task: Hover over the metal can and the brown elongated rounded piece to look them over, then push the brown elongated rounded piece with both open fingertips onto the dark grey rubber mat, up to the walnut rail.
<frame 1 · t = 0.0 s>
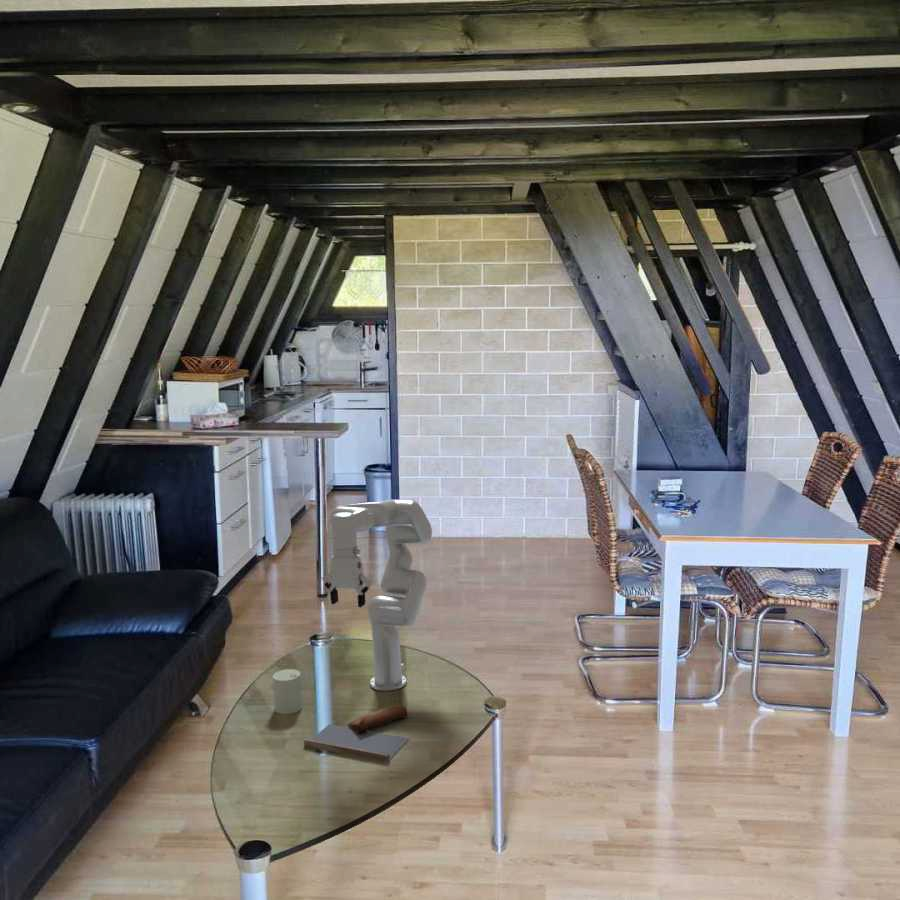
hand: (348, 604, 261), 37 cm above the table, tool pointing down, fingers open, 9 cm apart
walnut rail: (346, 753, 242), on the table
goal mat: (358, 741, 248), on the table
brown elongated rounded piece: (377, 723, 260), on the table, touching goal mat
can: (288, 708, 273), on the table
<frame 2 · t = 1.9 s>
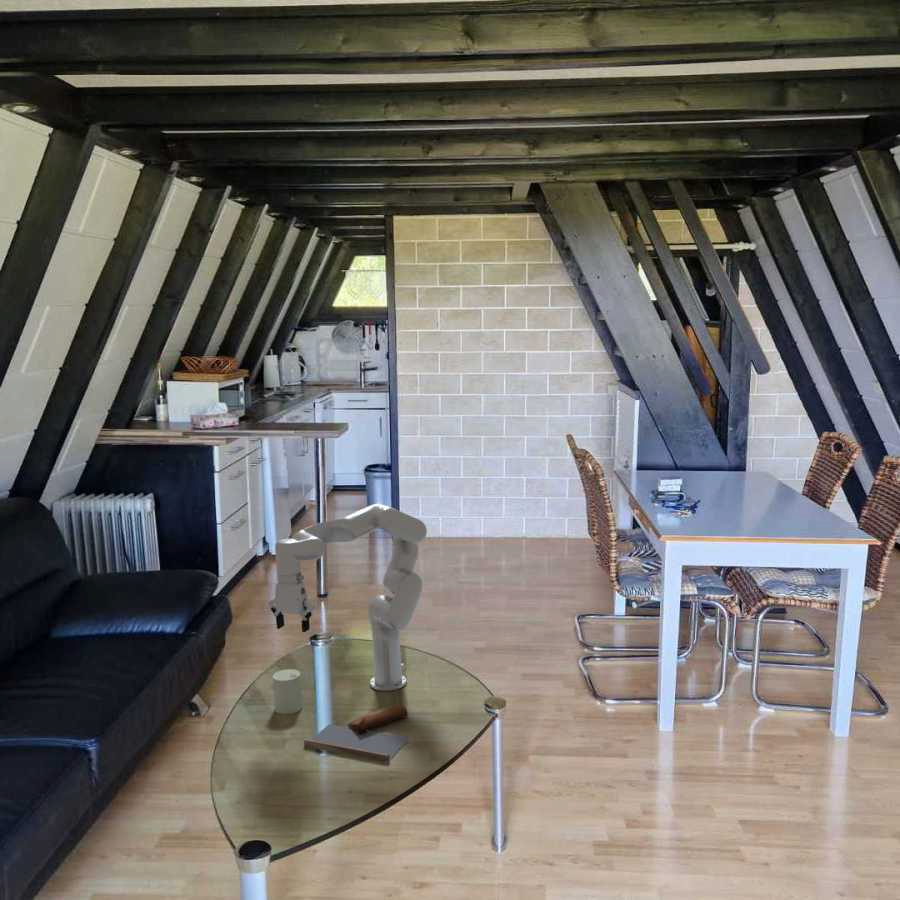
hand: (293, 629, 265), 28 cm above the table, tool pointing down, fingers open, 9 cm apart
nothing on the table moved.
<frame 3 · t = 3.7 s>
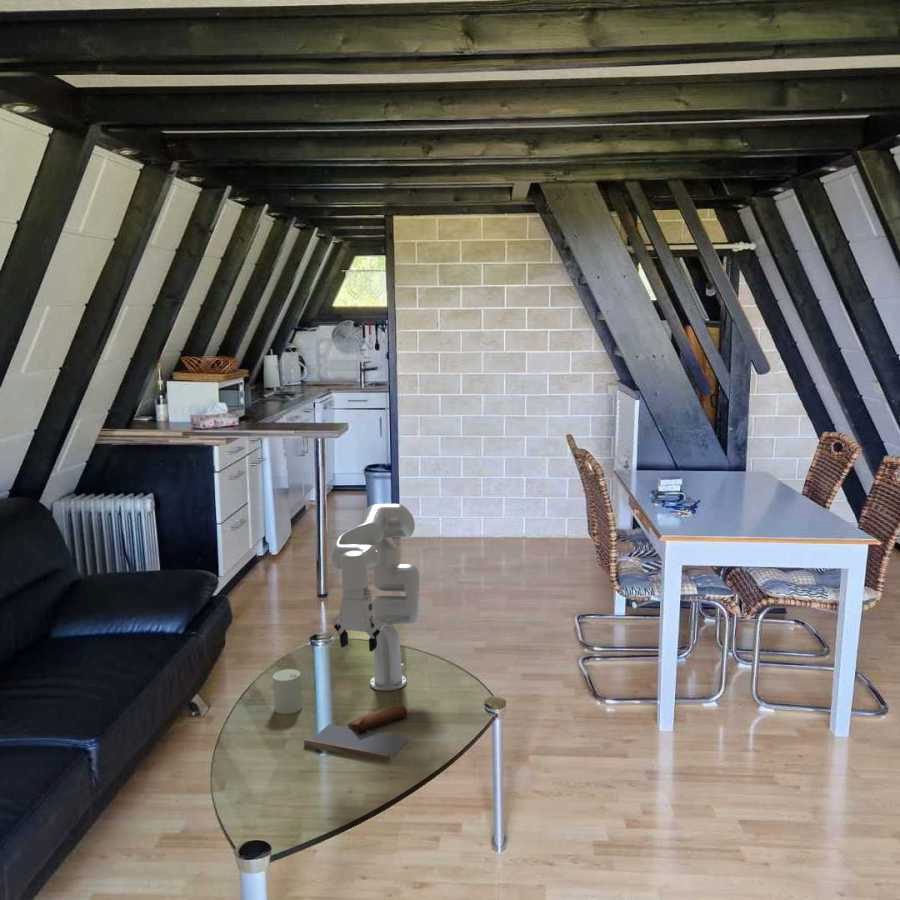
hand: (358, 647, 247), 28 cm above the table, tool pointing down, fingers open, 9 cm apart
nothing on the table moved.
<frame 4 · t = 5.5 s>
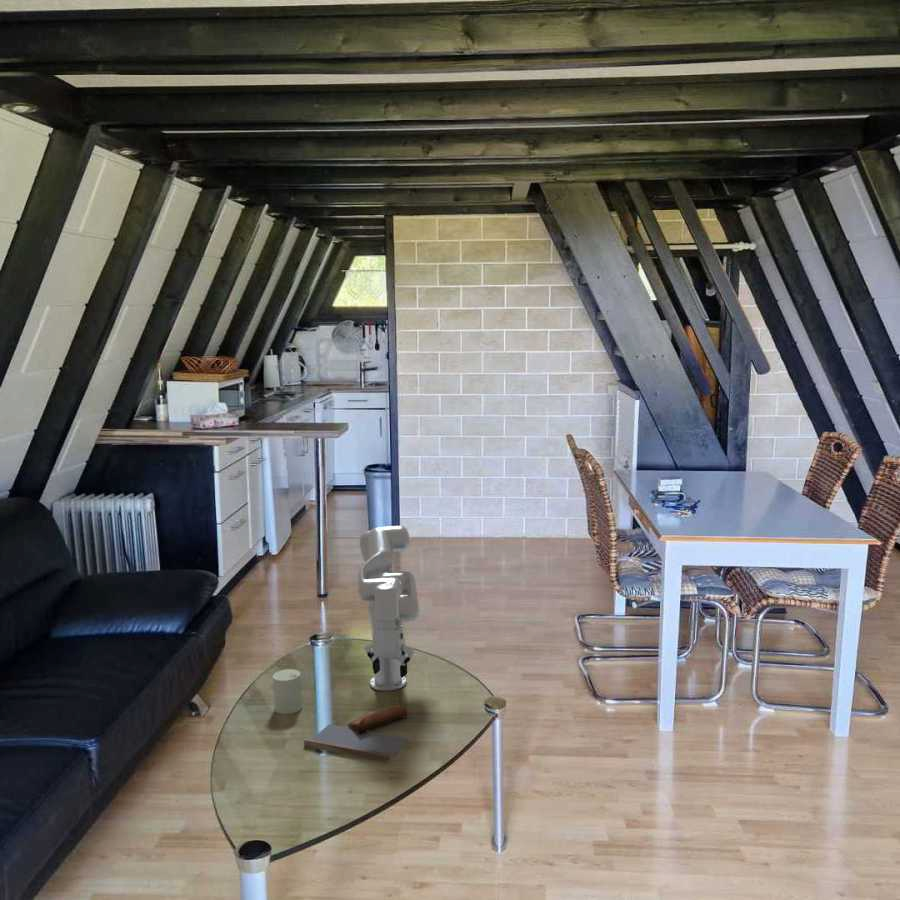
hand: (390, 674, 266), 12 cm above the table, tool pointing down, fingers open, 9 cm apart
nothing on the table moved.
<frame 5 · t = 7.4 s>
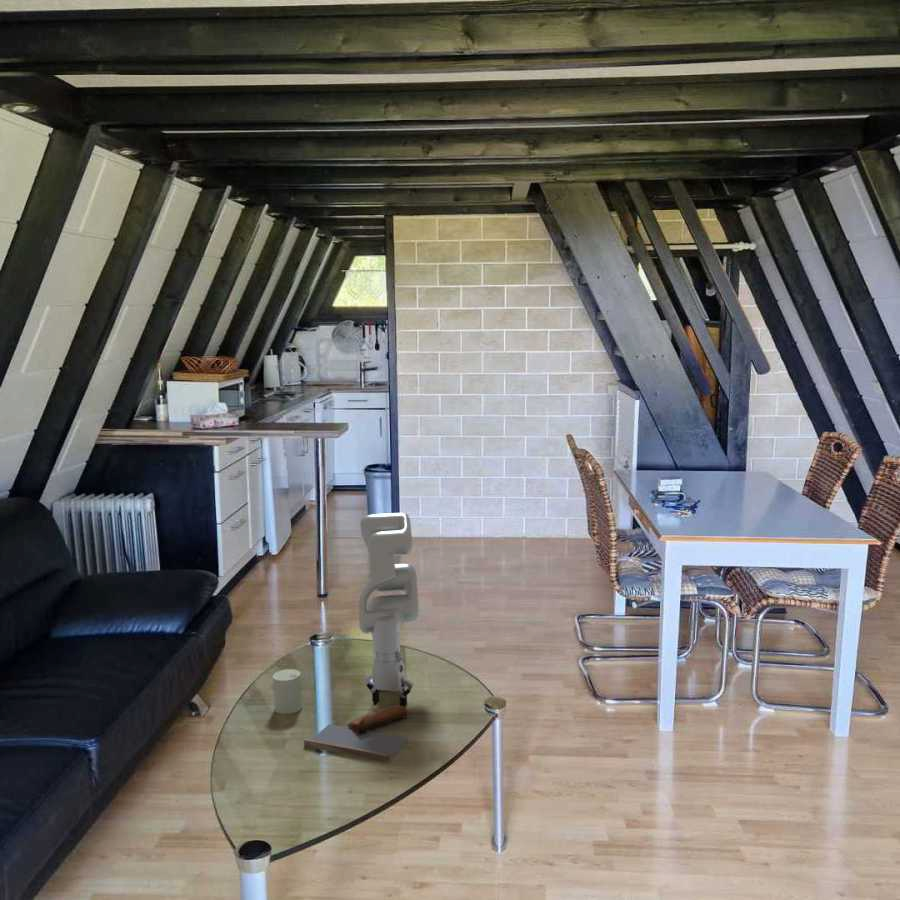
hand: (389, 705, 267), 2 cm above the table, tool pointing down, fingers open, 9 cm apart
brown elongated rounded piece: (377, 723, 260), on the table, touching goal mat, gripper
everything else where it was.
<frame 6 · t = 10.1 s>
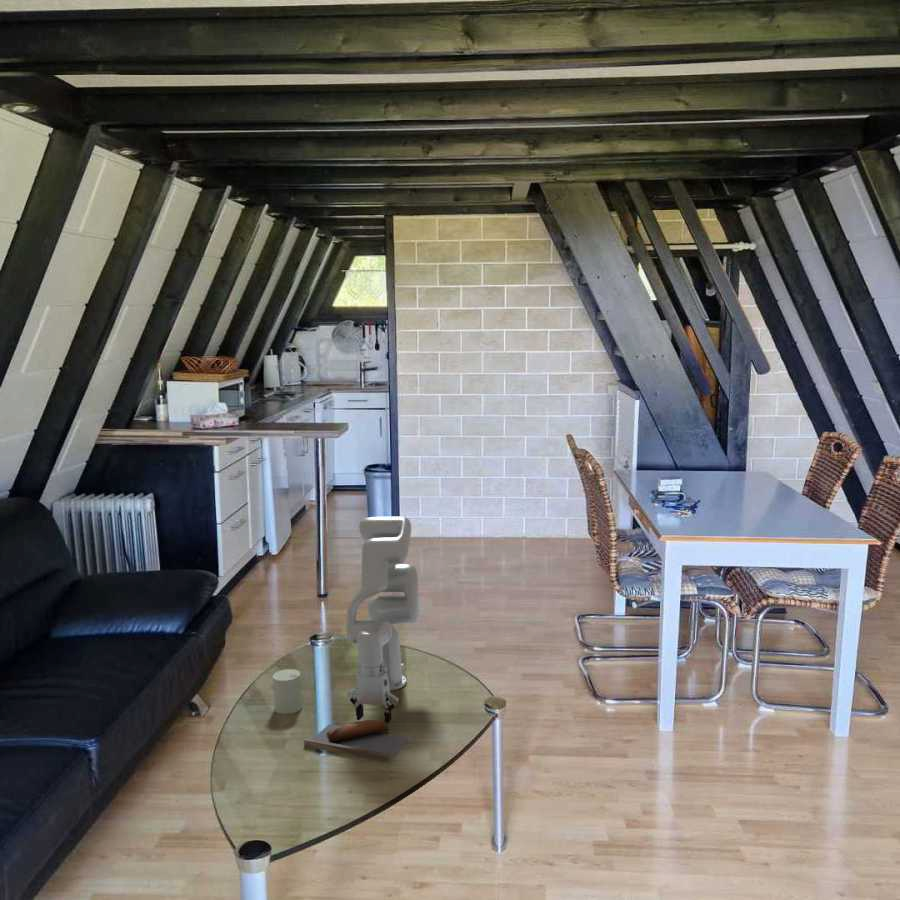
hand: (373, 720, 257), 2 cm above the table, tool pointing down, fingers open, 9 cm apart
brown elongated rounded piece: (357, 735, 252), resting on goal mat
everything else where it was.
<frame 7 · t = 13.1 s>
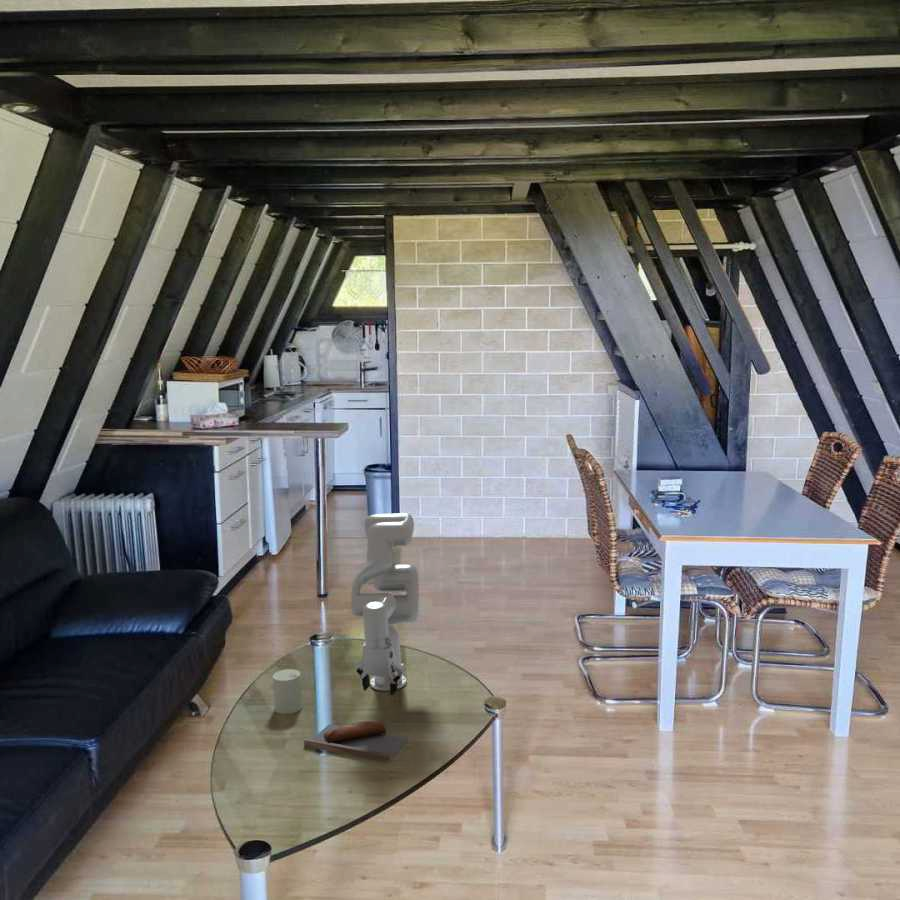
hand: (380, 690, 262), 9 cm above the table, tool pointing down, fingers open, 9 cm apart
brown elongated rounded piece: (354, 736, 251), resting on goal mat
everything else where it was.
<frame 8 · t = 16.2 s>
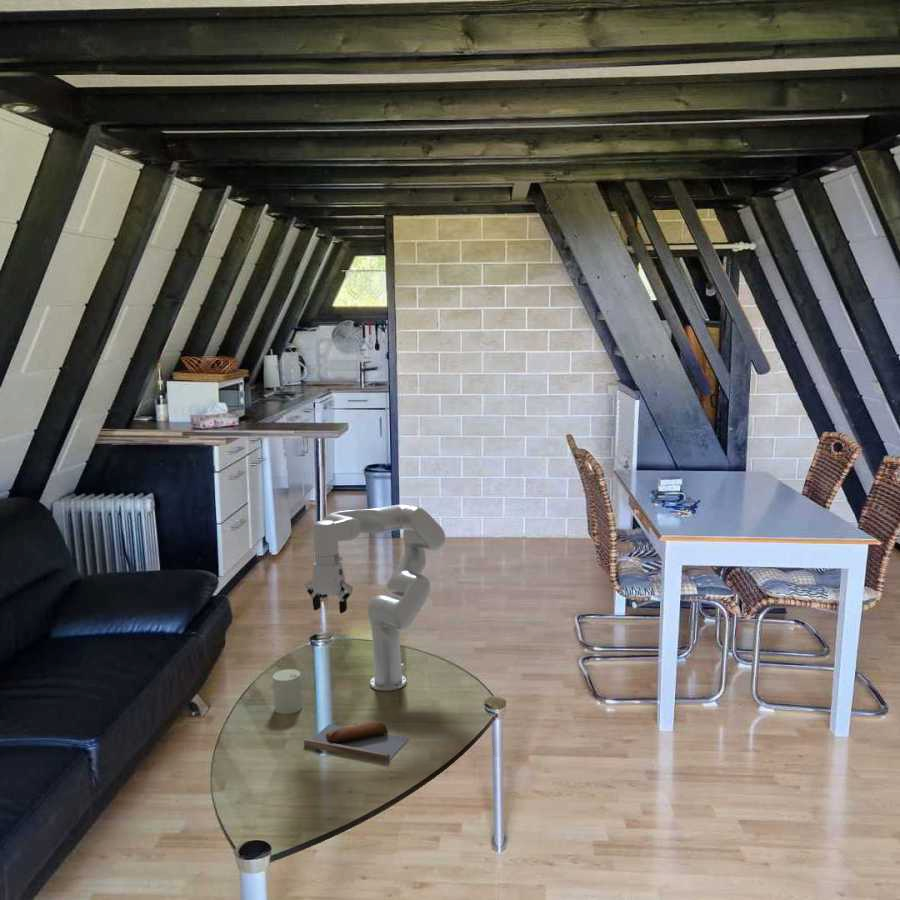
hand: (330, 610, 266), 33 cm above the table, tool pointing down, fingers open, 9 cm apart
nothing on the table moved.
at the end: brown elongated rounded piece inside the target area on the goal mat (3.9 cm from its centre), point 0.0 cm above the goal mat's base; brown elongated rounded piece tilted 0°; the gripper is holding nothing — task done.
